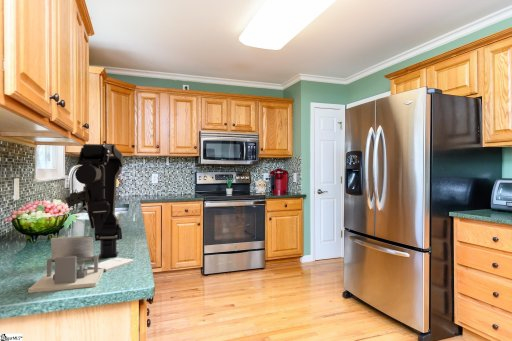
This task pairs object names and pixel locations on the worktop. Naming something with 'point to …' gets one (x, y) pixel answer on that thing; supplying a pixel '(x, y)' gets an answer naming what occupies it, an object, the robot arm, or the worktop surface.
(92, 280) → the board
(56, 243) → the brushed grey panel
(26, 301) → the worktop surface
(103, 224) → the robot arm
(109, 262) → the external hard drive
